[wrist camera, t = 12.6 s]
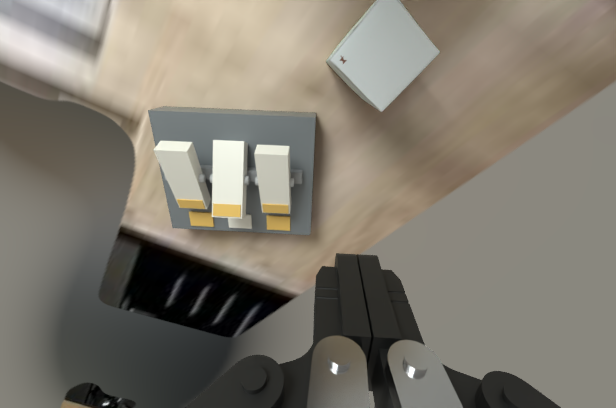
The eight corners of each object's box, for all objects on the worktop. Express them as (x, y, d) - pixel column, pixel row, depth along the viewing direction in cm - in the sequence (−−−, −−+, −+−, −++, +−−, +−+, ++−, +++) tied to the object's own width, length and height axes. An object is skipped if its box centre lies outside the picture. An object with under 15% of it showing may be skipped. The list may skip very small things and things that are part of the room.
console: (163, 106, 40) (141, 111, 35) (316, 112, 40) (315, 119, 35) (183, 215, 48) (168, 232, 43) (311, 222, 48) (309, 240, 43)
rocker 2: (253, 144, 34) (249, 154, 33) (293, 146, 34) (292, 156, 33) (261, 202, 41) (258, 213, 40) (294, 204, 41) (293, 214, 40)
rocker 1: (156, 140, 35) (148, 150, 33) (196, 142, 35) (190, 152, 33) (181, 197, 42) (175, 208, 40) (214, 199, 42) (210, 210, 40)
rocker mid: (214, 141, 38) (208, 139, 36) (251, 143, 38) (247, 141, 36) (213, 214, 39) (207, 216, 37) (249, 216, 39) (245, 218, 37)
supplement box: (362, 101, 39) (380, 116, 28) (324, 60, 37) (325, 58, 26) (405, 57, 36) (443, 53, 25) (366, 10, 34) (388, -17, 23)
